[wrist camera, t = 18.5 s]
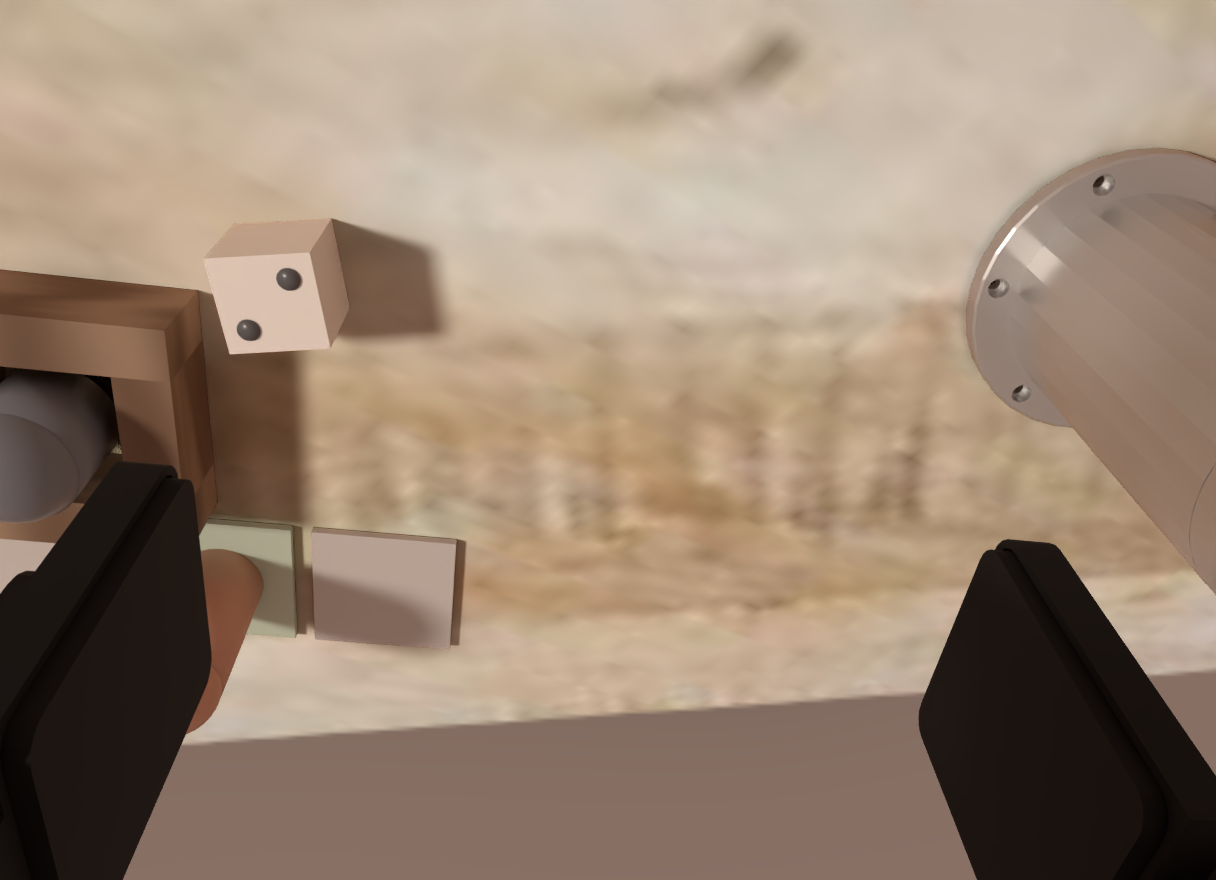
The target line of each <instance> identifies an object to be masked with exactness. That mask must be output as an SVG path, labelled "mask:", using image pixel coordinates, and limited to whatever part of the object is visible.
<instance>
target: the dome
mask: <svg viewBox="0 0 1216 880" xmlns="http://www.w3.org/2000/svg"><path fill="white" fill-rule="evenodd" d="M118 439H119V430H118V424H117V417H116V410H115V406H114V404H113V402H112V401H111V399H110V398H109V396H108V395H107V394H106V393H105V392H104V391H103V390H102V389H101V388H100V387H99V386H98V385H97V384H96V383H94V382H93V381H92V380H90V379H89V378H87V377H86V376H84V375H82V374H75V373H64V372H54V371H44V370H33V369H23V368H19V369H18V370H16V371H14V372H12V373H11V374H10V375H8V376H7V377H6V378H5V379H4V380H3V381H2V382H1V383H0V522H5V523H29V522H35V521H38V520H42V519H45V518H48V517H50V516H53V515H56V514H58V513H60V512H62V511H64V510H65V509H66V508H68V507H69V506H70V505H71V504H72V503H73V502H74V500H75V499H76V498H77V496H78V495H79V494H80V492H81V491H82V490H83V488H84V487H85V486H86V484H87V483H88V482H89V480H90V479H91V478H92V476H93V475H94V474H95V472H96V471H97V470H98V469H99V467H100V466H101V465H102V463H103V462H104V461H105V459H106V458H107V457H108V455H109V454H110V453H111V451H112V450H113V449H114V447H115V446H116V444H117V442H118Z"/></svg>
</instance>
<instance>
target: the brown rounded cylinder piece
mask: <svg viewBox="0 0 1216 880" xmlns="http://www.w3.org/2000/svg"><path fill="white" fill-rule="evenodd" d="M201 558H202V568H203V577H204V586H205V596H206V605H207V615H208V624H209V633H210V643H211V652H212V661H211V670H210V676H209V680H208V683H207V686H206V689H205V691H204V693H203V695H202V698H201V700H200V702H199V705H198V707H197V709H196V712H195V714H194V716H193V719H192V721H191V723H190V725H189V728H188V730H187V732H186V734H188V733H190V732H192V731H194V730H196V729H197V728H199V727H200V726H201V725H203V724H204V723H205V722H206V721H207V720H208V719H209V718H210V717H211V715H212V714H213V712H214V711H215V709H216V707H217V705H218V703H219V700H220V698H221V695H222V693H223V691H224V688H225V686H226V683H227V681H228V678H229V676H230V673H231V670H232V668H233V665H234V663H235V660H236V658H237V655H238V653H239V650H240V648H241V645H242V643H243V640H244V638H245V635H246V633H247V630H248V628H249V625H250V623H251V620H252V618H253V615H254V613H255V610H256V608H257V605H258V603H259V600H260V598H261V595H262V593H263V589H264V582H263V578H262V575H261V573H260V571H259V570H258V568H257V567H256V566H255V565H254V564H253V563H252V562H251V561H250V560H249V559H247V558H246V557H244V556H242V555H240V554H238V553H236V552H233V551H229V550H224V549H208V550H203V551H201Z"/></svg>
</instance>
